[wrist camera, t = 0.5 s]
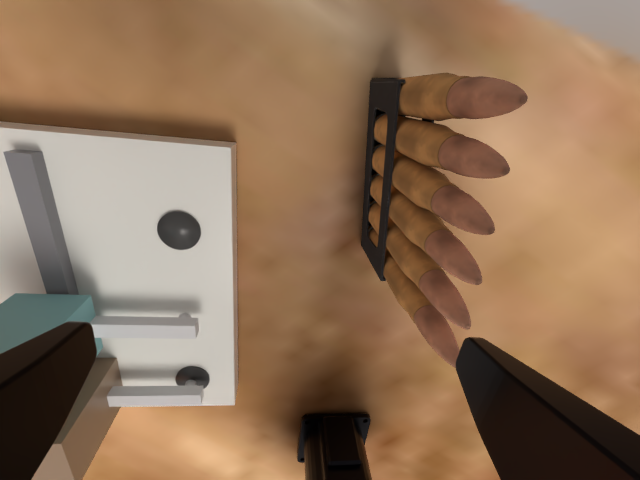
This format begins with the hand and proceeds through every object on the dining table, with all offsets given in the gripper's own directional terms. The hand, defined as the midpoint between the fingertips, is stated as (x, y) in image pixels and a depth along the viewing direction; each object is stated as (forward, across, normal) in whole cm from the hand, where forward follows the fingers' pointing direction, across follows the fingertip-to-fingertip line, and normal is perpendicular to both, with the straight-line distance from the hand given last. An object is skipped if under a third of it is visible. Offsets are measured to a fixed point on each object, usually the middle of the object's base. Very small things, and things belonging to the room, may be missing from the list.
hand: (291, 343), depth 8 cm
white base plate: (+14, +10, +8) cm, 19 cm away
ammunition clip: (+14, -6, -2) cm, 15 cm away
